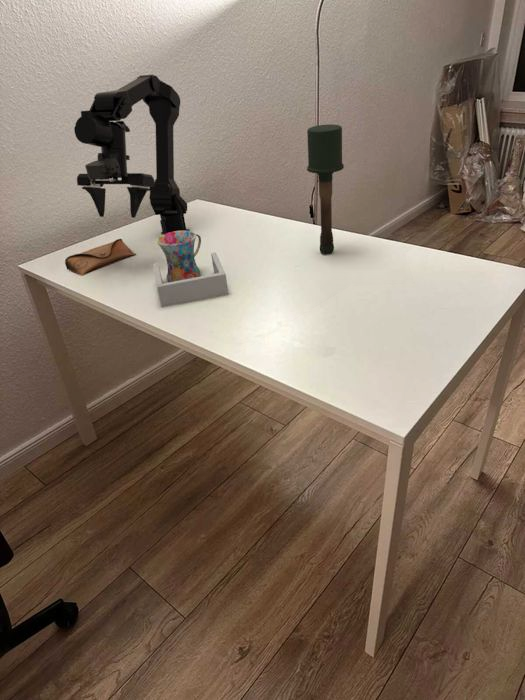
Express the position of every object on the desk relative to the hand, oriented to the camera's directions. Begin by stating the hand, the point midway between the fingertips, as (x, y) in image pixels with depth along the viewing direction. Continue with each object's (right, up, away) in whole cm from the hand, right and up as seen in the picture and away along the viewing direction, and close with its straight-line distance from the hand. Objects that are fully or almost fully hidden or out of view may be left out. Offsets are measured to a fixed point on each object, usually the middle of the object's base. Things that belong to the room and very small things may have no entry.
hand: (117, 217), depth 122 cm
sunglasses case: (-8, -9, +14) cm, 19 cm away
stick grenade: (+53, -8, +5) cm, 54 cm away
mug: (+18, -15, +1) cm, 23 cm away
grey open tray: (+19, -18, -5) cm, 27 cm away
